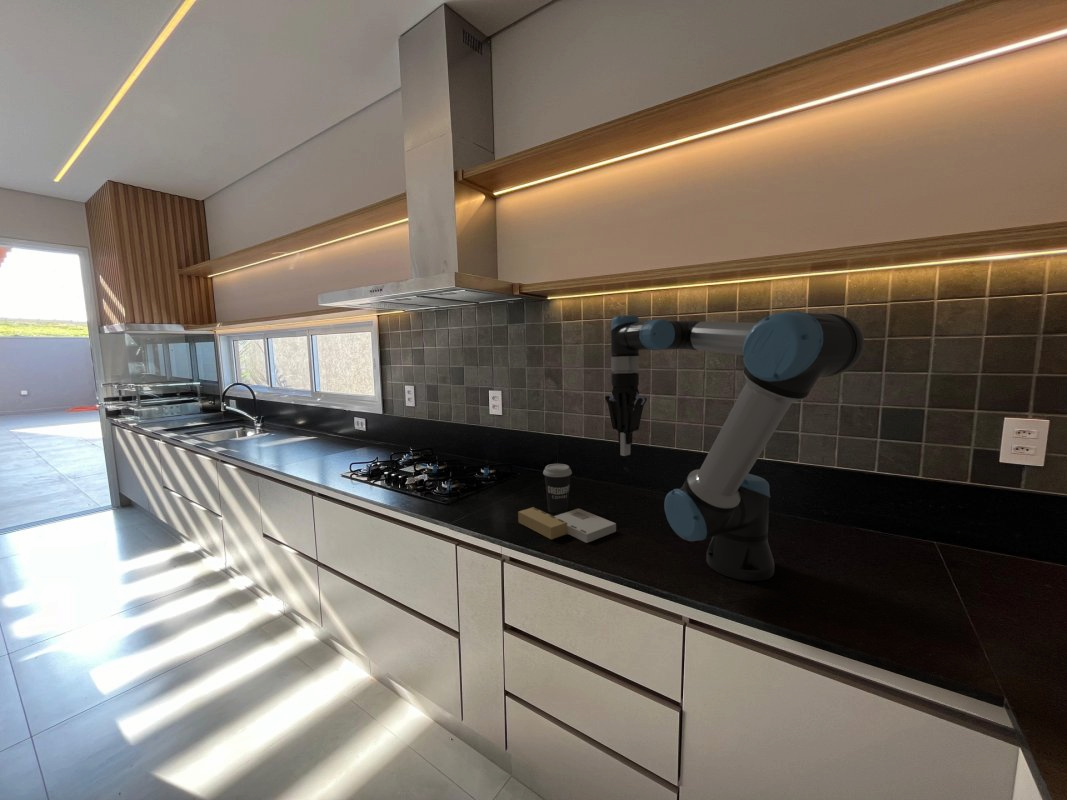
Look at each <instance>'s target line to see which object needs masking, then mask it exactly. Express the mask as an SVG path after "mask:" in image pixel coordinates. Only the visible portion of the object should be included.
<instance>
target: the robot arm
mask: <svg viewBox="0 0 1067 800" xmlns="http://www.w3.org/2000/svg"><path fill="white" fill-rule="evenodd" d="M639 320H640V319H639V316H637V315H618V316H614V317H613V318H612V319H611V327H610V329H611V330H610V346H611V347H610V348H611V351H610V353H611V360H610V361H611V362H610V363H611V365H610V366H611V367H610V371H611V372H613V373H612V374H611V386H612V390H611V393H610V394H609V395H605V396H604V399H605V401H606V403H607V406H608V407H607V408H608V411H609V417H610V422H611V428H612V429H613V430H616V431H617V432H618V434H617V435H618V443H619V445H620V447H619V448H620V449H619V450H620V451H619V452H620V453H619V454H620V456H623V457H627V456H630V455H631V445H632V444H633V433H634V432H636V431H637V432H638V431H639V429H640V423H641V420H642V419H641V418H642V415H643V409H644V406H645V404H646V402H647V397H643V396H642V395H640V390H639V389H638V387H639V385H640V374H639V369H640V367H639V363H640V360H639V359H640V358H639V357H640V356H639V355H640V352H639V351H662V350H688V351H701V352H710V353H719V354H727V355H740V356H744V357H742V360H743V364H744V368H743V370H742V375H743V376H744V378H745V384H744V386H743V387H742V390H741V392H740V393H739V396H738V397H737V399H736V401H735V402H734V405H733V407H732V409H731V410H730V412H729V414H728V415H727V418H726V419H725V421H724V423H723V425H722V427H721V429H720V430H719V433H718V435H717V437H716V439H715V440H714V442H713V444H712V445H711V447H710V449H709V451H708V453H707V455H706V457H705V459H704V461H703V463H702V464H701V467H700V468H698V469H694V470H692V471H690V472H689V474H688V475H687V477H686V478H685V479H686V480H685V481H684V482H683V485H682V486H681V487H680V488H674V489H673V490H671V491H668V493H667V494H666V495H665V498H664V504H663V506H664V513H665V516H666V519H667V522H668V524H669V526H670V527H671V529H672V530H673V532H674V533H675V534H676V535H677V536H678V537H679V538H681V539H683V540H685V541H688V542H695V541H705V540H706V539H708V538H711V540H710V542H709V545H708V547H707V550H706V563H707V565H708V566H709V567H710V568H711V569H712V570H713V571H715V572H717V573H718V574H720V575H722V576H725V577H727V578H731V579H734V580H738V581H747V582H760V581H766V580H769V579H770V578H772V577H773V576H774V575H775V561H774V557H773V554H772V550H771V548H770V545H769V541H768V535H769V516H770V515H769V513H770V498H771V495H770V494H771V493H770V484H769V482H768V481H767V480H766V479H765V478H763V477H762V476H758V475H755V474H751V473H750V471H751V470H752V468H753V467H754V466H755V464H756V462H757V460H758V458H759V457H760V455H761V453H762V452H763V450H764V449H765V448H766V445H767V444H768V442H769V441H770V439H771V437H773V434H774V433H775V431H776V430H777V428H778V426H779V424H780V423H781V421H783V419H784V416H785V415H786V413H787V411H788V410H789V409H790V407H791V406H792V404H793V403H795V402H799V401H803V400H805V399H807V397H808V395H809V394H810V392H811V391H812V389H813V388H814V387H815V385H816V384H817V382H818V380H819V378H826V377H833V376H837V375H840V374H842V373H845V372H847V371H848V370H850V369H852V368H853V367H854V366H855V365H856V364H857V363H858V361H859V360H860V359H861V357H862V355H863V352H864V350H865V337H864V334H863V332H862V329H861V328H860V327H859V325H858V324H857V323H856V322H855V321H853V320H852V319H851V318H848V317H846V316H844V315H841V314H836V313H813V312H811V313H810V312H802V311H785V312H779V313H774V314H771V315H769V316H766V317H764V318H762V319H760V320H759V321H758V322H741V321H740V322H739V321H738V322H735V321H731V322H730V321H699V320H667V319H664V318H658V319H657V318H654V319H650V320H644V321H643V320H642V321H639ZM637 371H638V372H637Z"/></svg>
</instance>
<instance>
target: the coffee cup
mask: <svg viewBox="0 0 1067 800" xmlns="http://www.w3.org/2000/svg"><path fill="white" fill-rule="evenodd" d="M542 474H543V475H544V481H545V482H544V483H545V490H546V491H545V492H546V493H545V494H546V502H547V511H548V513H549V514H554V515H560V514H563V513H566V512H568V507H569V497H570V496H569V493H570V483H571V482H570V481H571V475H572V474H573V472H572V469H571V468H570V465H568V464H564V463H551V464H547V465H546V466H545V467H544V469H543V472H542Z"/></svg>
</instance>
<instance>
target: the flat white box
mask: <svg viewBox="0 0 1067 800" xmlns="http://www.w3.org/2000/svg"><path fill="white" fill-rule="evenodd" d="M553 516H554V517H556V518H558V519H561V520H563V521H565V522H567V534H566V535H570V536H571V537H574V538H576V539H578V540H579V541H582V542H584V543H587V544H588V543H590V542H593V541H596V540H598V539H601V538H603V537H605V536H608V535H610V534H611V535H612V534H613V533H616V532H617V523H616V522H613V521H611V520H608V519H606V518H604V517H601V516H598V515H596V514H593V513H591V512H589V511H586V510H583V509H581V508H575V509H573V510H569V511H567V512H566V513H563V514H555V515H553Z"/></svg>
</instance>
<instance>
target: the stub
mask: <svg viewBox="0 0 1067 800" xmlns="http://www.w3.org/2000/svg"><path fill="white" fill-rule="evenodd" d="M517 516H518V520H517V521H518V523H519V524H520V525H522V526H525V527H526V528H527V529H528V528H529V529H531V530H532V531H534V532H536V533H538V534H540V535H542V536H543V537H546V538H547V539H549V540H554V539H557V538H559V537H563V536H565V535H568V534H567V522H565V521H563V520H561V519H558V518H556V517H554V516H555V515H552V514H550V513H547V512H545V511H543V510H540V509H538V508H536V507H534V506H532V507H529V508H526V509H522V510H520V511H519V510H518V511H517Z"/></svg>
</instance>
